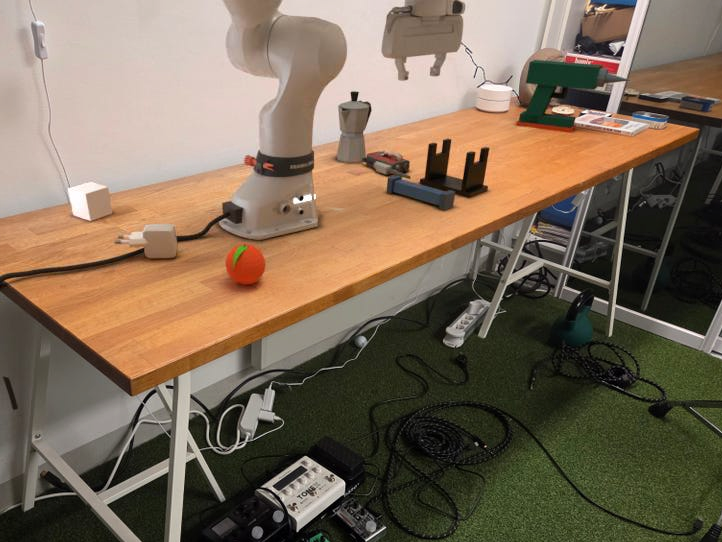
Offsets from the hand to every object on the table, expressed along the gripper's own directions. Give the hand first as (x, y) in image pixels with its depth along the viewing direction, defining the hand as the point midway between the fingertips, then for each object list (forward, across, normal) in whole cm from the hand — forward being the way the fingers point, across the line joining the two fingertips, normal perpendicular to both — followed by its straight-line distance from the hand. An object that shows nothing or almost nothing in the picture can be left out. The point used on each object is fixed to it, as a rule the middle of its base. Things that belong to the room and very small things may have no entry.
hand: (418, 78), depth 133 cm
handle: (+26, 0, -4) cm, 27 cm away
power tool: (+28, +93, +23) cm, 100 cm away
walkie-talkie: (+27, +10, +17) cm, 33 cm away
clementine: (+26, -57, -20) cm, 65 cm away
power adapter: (+26, -66, +1) cm, 71 cm away
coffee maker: (+27, +10, +33) cm, 44 cm away
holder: (+26, +14, -1) cm, 30 cm away
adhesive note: (+26, -68, +29) cm, 78 cm away
